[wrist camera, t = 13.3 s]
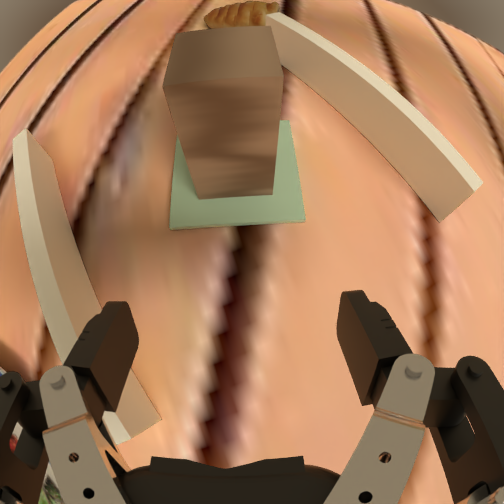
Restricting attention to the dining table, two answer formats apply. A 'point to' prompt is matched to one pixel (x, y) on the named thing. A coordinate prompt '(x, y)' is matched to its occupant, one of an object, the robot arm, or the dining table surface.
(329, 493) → the robot arm
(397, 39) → the dining table surface
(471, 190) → the arena
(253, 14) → the pastry
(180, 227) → the pad
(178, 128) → the walnut block
